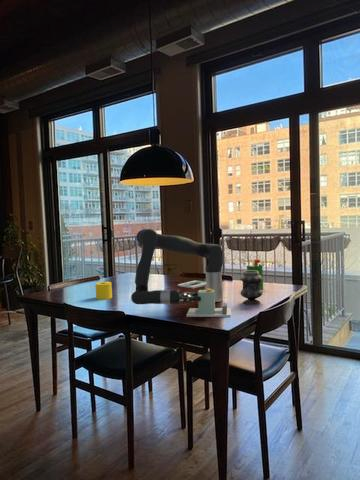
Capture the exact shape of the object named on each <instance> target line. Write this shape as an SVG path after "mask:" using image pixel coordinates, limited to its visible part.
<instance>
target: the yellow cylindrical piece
mask: <svg viewBox="0 0 360 480" xmlns="http://www.w3.org/2000/svg"><path fill="white" fill-rule="evenodd" d="M112 285H113V284H112V281H99V282H95V299H96V300H101V301H102V300H110V299H112V298H113V288H112Z"/></svg>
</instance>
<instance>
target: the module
mask: <svg viewBox="0 0 360 480" xmlns="http://www.w3.org/2000/svg"><path fill="white" fill-rule="evenodd" d="M197 293H198V297H201V301H197V305H198V307H197V308H198V310H199V314H215V308H216V302H215V290H212V289H207V290H205V289H199V290H198V291H197Z"/></svg>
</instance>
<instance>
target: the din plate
mask: <svg viewBox="0 0 360 480" xmlns="http://www.w3.org/2000/svg"><path fill="white" fill-rule="evenodd" d="M231 316H232V308H231V307H228V303H227V302H223V303H222V306H221V307H215V314H199V310H198V307H197V308H196V307H189V308H188V311H187V313H186V318H190V317H191V318H193V317H194V318H197V317H198V318H200V317H203V318H205V317H208V318H209V317H211V318H213V317H214V318H217V317H219V318H221V317H222V318H226V317H227V318H230V317H231Z"/></svg>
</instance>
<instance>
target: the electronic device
mask: <svg viewBox="0 0 360 480" xmlns="http://www.w3.org/2000/svg"><path fill="white" fill-rule="evenodd" d="M205 284H206V280H205V281H202V280H191V281H187V282H183V283H179V284H178V283H177V287H181V288H187V289H197V288H201V287H205Z"/></svg>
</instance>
